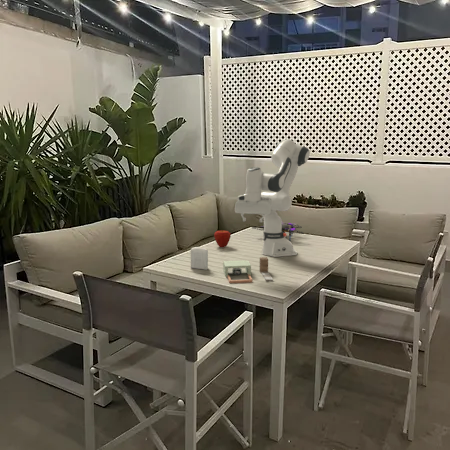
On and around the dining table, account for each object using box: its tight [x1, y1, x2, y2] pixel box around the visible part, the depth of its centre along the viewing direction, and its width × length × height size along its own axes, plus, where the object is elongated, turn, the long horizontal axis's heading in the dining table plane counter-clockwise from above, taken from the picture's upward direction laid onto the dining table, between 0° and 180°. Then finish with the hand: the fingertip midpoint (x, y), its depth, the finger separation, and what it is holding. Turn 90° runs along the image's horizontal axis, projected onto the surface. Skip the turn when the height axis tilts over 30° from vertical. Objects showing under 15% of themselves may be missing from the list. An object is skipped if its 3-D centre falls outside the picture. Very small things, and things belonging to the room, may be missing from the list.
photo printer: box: [190, 246, 209, 270], centre depth 258 cm, size 10×4×12 cm, turn 69°
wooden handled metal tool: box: [259, 256, 274, 283], centre depth 243 cm, size 18×4×8 cm, turn 6°
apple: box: [214, 229, 232, 248], centre depth 304 cm, size 11×11×12 cm
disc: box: [231, 268, 243, 276], centre depth 249 cm, size 5×5×2 cm
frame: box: [226, 274, 253, 284], centre depth 238 cm, size 12×10×1 cm
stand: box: [222, 259, 252, 278], centre depth 249 cm, size 14×10×6 cm
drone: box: [252, 222, 305, 242], centre depth 330 cm, size 40×10×28 cm
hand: (252, 221), depth 254 cm, fingers open, 8 cm apart
